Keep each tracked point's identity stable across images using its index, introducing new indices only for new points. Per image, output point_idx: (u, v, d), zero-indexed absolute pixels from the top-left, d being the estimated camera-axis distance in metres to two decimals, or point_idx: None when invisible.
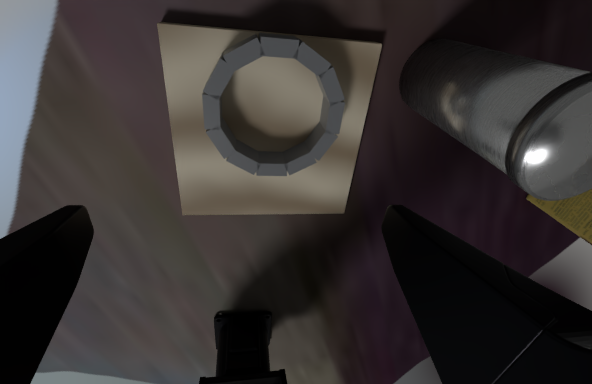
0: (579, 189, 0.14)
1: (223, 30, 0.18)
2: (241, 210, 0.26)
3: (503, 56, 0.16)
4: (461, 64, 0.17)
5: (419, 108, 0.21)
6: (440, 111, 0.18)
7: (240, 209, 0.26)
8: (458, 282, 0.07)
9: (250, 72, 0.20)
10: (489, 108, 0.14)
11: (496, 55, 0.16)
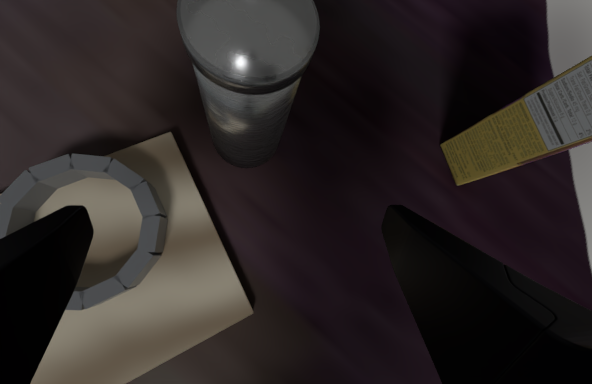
0: (296, 52, 0.12)
1: None
2: (110, 383, 0.18)
3: None
4: None
5: (228, 151, 0.20)
6: (215, 127, 0.17)
7: (108, 382, 0.18)
8: (458, 282, 0.07)
9: (54, 211, 0.19)
10: None
11: None
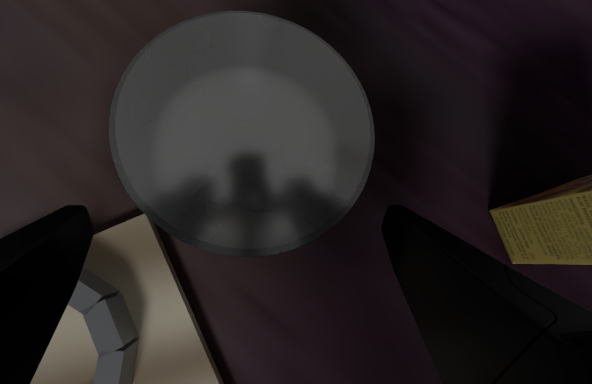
0: (336, 189, 0.06)
1: None
2: None
3: None
4: None
5: None
6: None
7: None
8: (458, 282, 0.07)
9: None
10: None
11: None
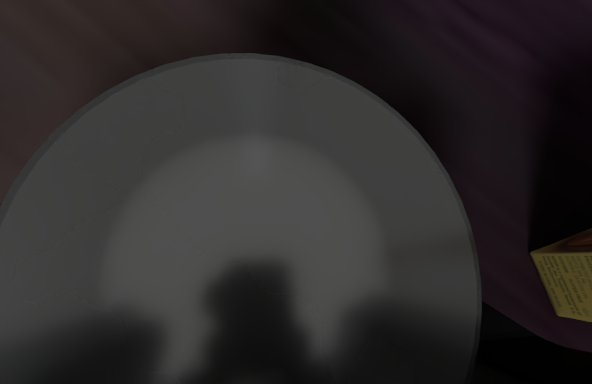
0: None
1: None
2: None
3: None
4: None
5: None
6: None
7: None
8: None
9: None
10: None
11: None
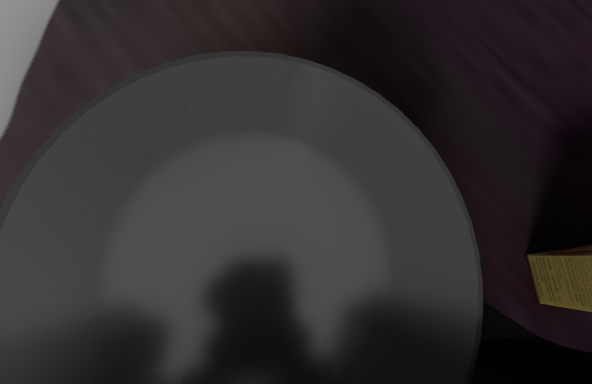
0: None
1: None
2: None
3: None
4: None
5: None
6: None
7: None
8: None
9: None
10: None
11: None
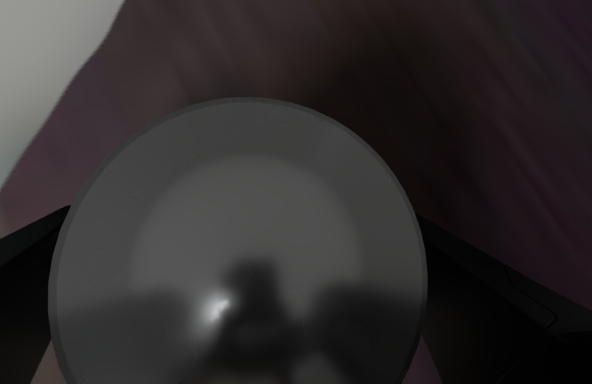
0: (379, 363, 0.04)
1: None
2: None
3: None
4: None
5: None
6: None
7: None
8: (458, 282, 0.07)
9: None
10: None
11: None
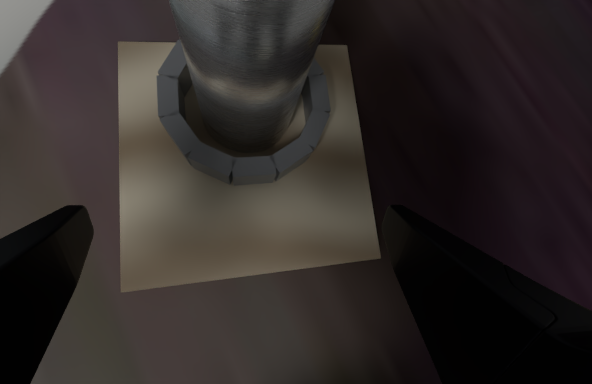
0: None
1: None
2: (219, 271, 0.16)
3: None
4: None
5: (222, 127, 0.15)
6: (201, 85, 0.12)
7: (217, 269, 0.16)
8: (458, 282, 0.07)
9: None
10: None
11: None
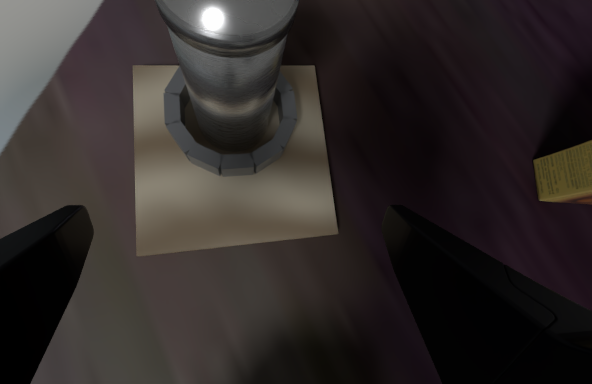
0: (276, 10, 0.11)
1: None
2: (211, 241, 0.21)
3: None
4: None
5: (213, 132, 0.20)
6: (197, 103, 0.17)
7: (210, 240, 0.21)
8: (458, 282, 0.07)
9: None
10: None
11: None
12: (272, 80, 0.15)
